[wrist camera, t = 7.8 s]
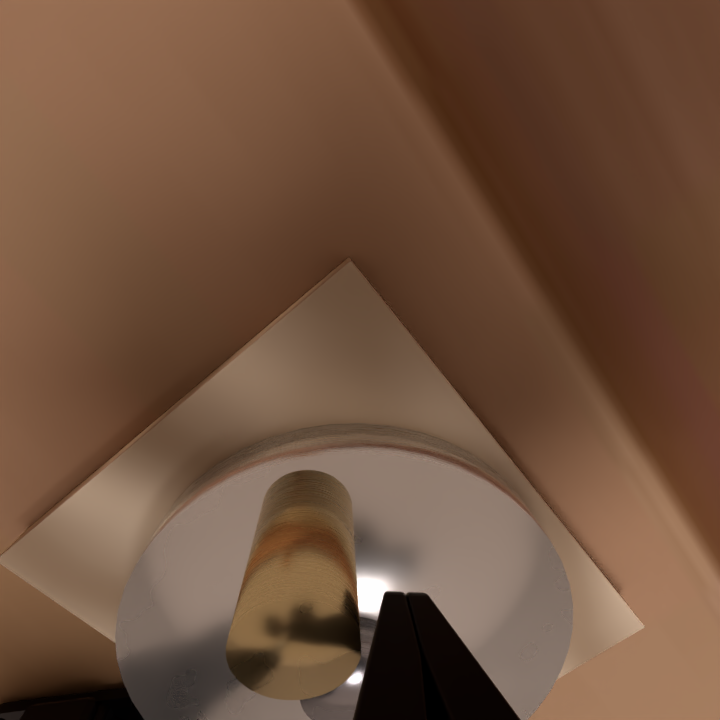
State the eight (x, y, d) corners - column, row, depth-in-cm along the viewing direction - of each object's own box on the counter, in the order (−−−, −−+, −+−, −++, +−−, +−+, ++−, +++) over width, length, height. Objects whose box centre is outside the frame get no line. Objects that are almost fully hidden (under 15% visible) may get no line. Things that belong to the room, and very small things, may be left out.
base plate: (347, 762, 20) (348, 803, 19) (27, 528, 15) (-5, 560, 14) (620, 594, 18) (644, 626, 16) (348, 256, 13) (350, 260, 11)
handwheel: (557, 697, 17) (666, 927, 11) (217, 770, 17) (161, 1032, 11) (528, 378, 12) (681, 499, 7) (71, 479, 13) (-133, 677, 7)
